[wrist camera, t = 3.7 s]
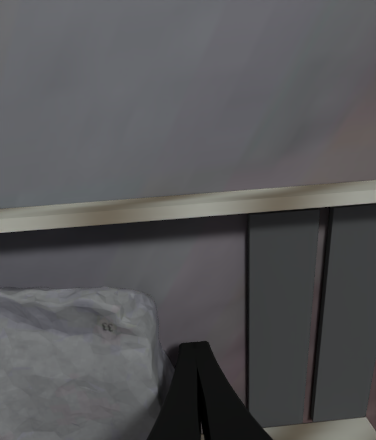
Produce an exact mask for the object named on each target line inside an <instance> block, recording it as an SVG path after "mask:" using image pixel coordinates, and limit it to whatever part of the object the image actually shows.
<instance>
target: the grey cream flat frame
mask: <svg viewBox="0 0 376 440" xmlns="http://www.w3.org/2000/svg"><path fill="white" fill-rule="evenodd" d="M368 203H376V180H371V181H358V182H345V183H332V184H319V185H306V186H293V187H280V188H267V189H254V190H241V191H228V192H215V193H202V194H189V195H176V196H163V197H150V198H137V199H124V200H111V201H98V202H85V203H72V204H59V205H46V206H33V207H20V208H7V209H0V233H4V232H17V231H29V230H42V229H54V228H67V227H80V226H92V225H105V224H117V223H130V222H142V221H155V220H167V219H180V218H192V217H205V216H217V215H230V214H243V213H255V212H268V211H280V210H293V209H305V208H318V207H330V206H343V205H355V204H368ZM263 429H264V430H265V431H266V432H267V433H268V434H269V435H270V437H271V438H272V439H273V440H376V431H375V430H374V428H373V427H372V425H371V424H370V422H369V421H368V420H367V418H366V417H363V418H354V419H344V420H335V421H326V422H316V423H307V424H297V425H288V426H279V427H269V428H263ZM201 440H204V435H201Z"/></svg>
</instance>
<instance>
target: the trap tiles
mask: <svg viewBox="0 0 376 440" xmlns="http://www.w3.org/2000/svg"><path fill="white" fill-rule="evenodd" d="M319 217H320V209H319V208H305V209H293V210H280V211H268V212H255V213H248V411H249V412H250V413H251V415H252V416H253V417H254V418H255V419H256V421H257V422H258V423H259V424H260V425H261V427H271V426H280V425H289V424H299V423H302V422H303V410H304V398H305V386H306V374H307V362H308V350H309V338H310V326H311V314H312V301H313V289H314V277H315V265H316V253H317V241H318V229H319ZM375 359H376V203H368V204H355V205H343V206H330V214H329V225H328V236H327V246H326V257H325V268H324V278H323V289H322V299H321V310H320V321H319V331H318V342H317V353H316V363H315V374H314V385H313V395H312V406H311V416H310V417H311V419H312V421H313V422H318V421H327V420H337V419H346V418H355V417H365V416H366V410H367V405H368V399H369V393H370V388H371V382H372V376H373V371H374V365H375Z"/></svg>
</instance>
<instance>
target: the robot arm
mask: <svg viewBox="0 0 376 440" xmlns="http://www.w3.org/2000/svg"><path fill="white" fill-rule="evenodd" d="M201 424H202V429H203V435H204V440H273V439H272V438H271V437H270V435H269V434H268V433H267V432H266V431H265V430H264V429H263V428H262V427H261V425H260V424H259V423H258V422H257V421H256V419H255V418H254V417H253V416H252V415H251V413H250V412H249V411H248V409H247V408H246V407H245V405H244V404H243V403H242V401H241V400H240V399H239V397H238V396H237V394H236V393H235V391H234V390H233V388H232V387H231V385H230V384H229V382H228V380H227V379H226V377H225V375H224V374H223V372H222V370H221V368H220V367H219V365H218V363H217V361H216V359H215V357H214V355H213V353H212V350H211V348H210V345H209V343H208V342H207V341H201V342H191V343H182V344H181V345H180V346H179V355H178V360H177V364H176V368H175V372H174V375H173V378H172V381H171V385H170V387H169V390H168V393H167V395H166V398H165V401H164V403H163V406H162V408H161V410H160V413H159V415H158V417H157V419H156V422H155V424H154V426H153V428H152V430H151V432H150V434H149V436H148V438H147V439H146V440H201Z"/></svg>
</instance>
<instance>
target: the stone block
mask: <svg viewBox="0 0 376 440" xmlns="http://www.w3.org/2000/svg"><path fill="white" fill-rule="evenodd" d="M174 372H175V369H174V367H173V365H172V364H171V361H170V359H169V357H168V356H167V354H166V353H165V352H164V350H163V349H162V346H161V344H160V341H159V320H158V316H157V309H156V304H155V301H154V299H153V297H152V296H150V295H148V294H145V293H143V292H139V291H136V290H132V289H125V288H112V287H106V286H102V287H99V288H71V289H56V290H55V289H51V288H49V287H35V288H16V287H5V288H0V440H146V439H147V438H148V436H149V434H150V432H151V430H152V428H153V426H154V424H155V422H156V419H157V417H158V415H159V413H160V410H161V408H162V406H163V403H164V401H165V398H166V395H167V393H168V390H169V387H170V385H171V381H172V378H173V375H174Z"/></svg>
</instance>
